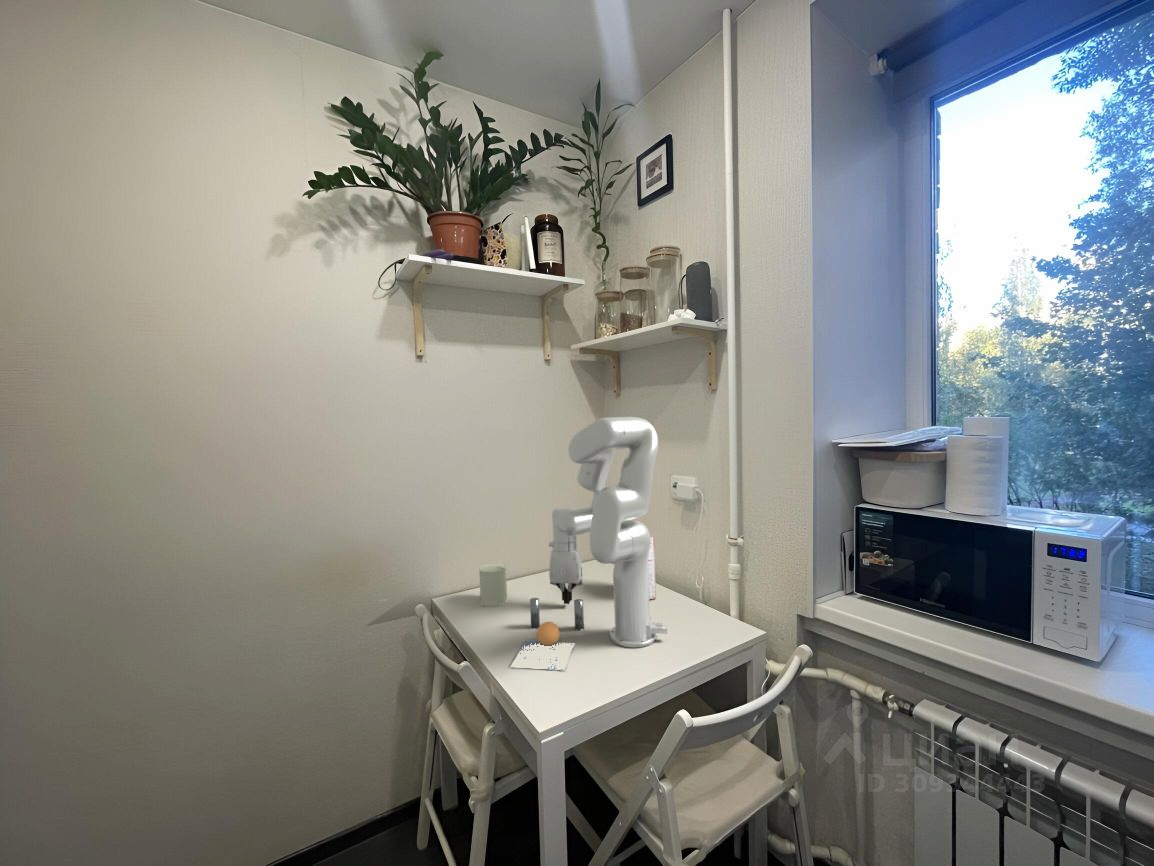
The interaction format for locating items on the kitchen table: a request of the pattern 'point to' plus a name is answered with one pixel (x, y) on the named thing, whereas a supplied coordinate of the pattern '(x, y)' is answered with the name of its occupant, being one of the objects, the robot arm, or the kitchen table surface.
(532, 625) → the outer post
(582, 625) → the inner post
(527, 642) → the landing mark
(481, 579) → the can
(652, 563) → the cracker box
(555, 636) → the ball
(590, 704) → the kitchen table surface
